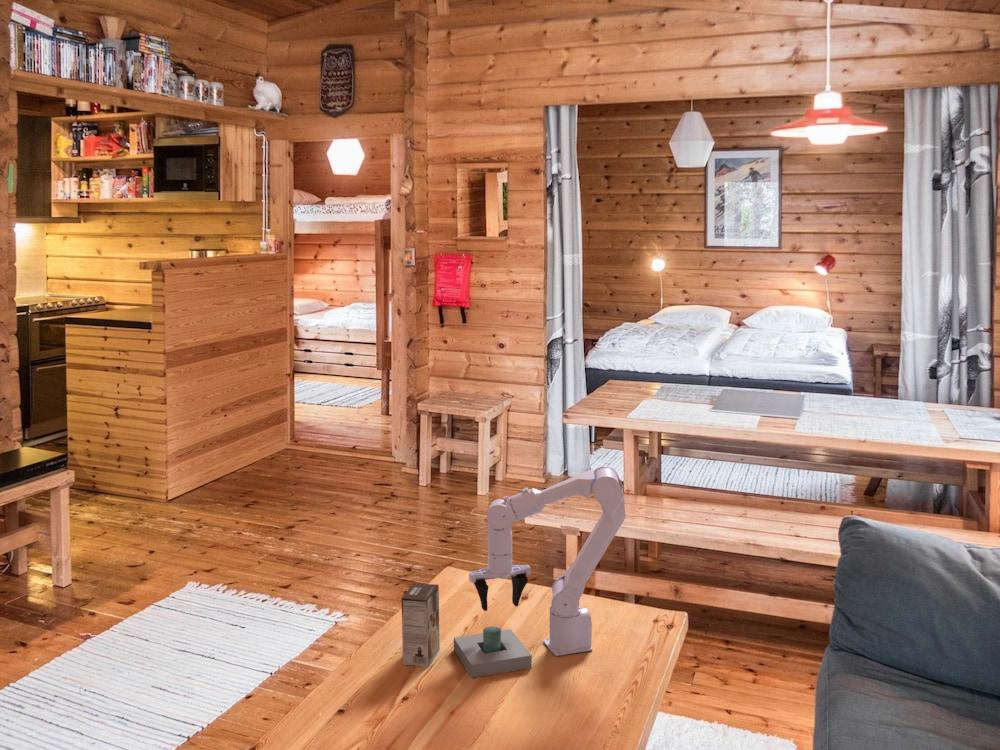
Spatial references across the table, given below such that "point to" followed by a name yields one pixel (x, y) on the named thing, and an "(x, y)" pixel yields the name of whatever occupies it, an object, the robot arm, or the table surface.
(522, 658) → the socket
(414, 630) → the coffee box
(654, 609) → the table surface
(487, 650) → the peg
